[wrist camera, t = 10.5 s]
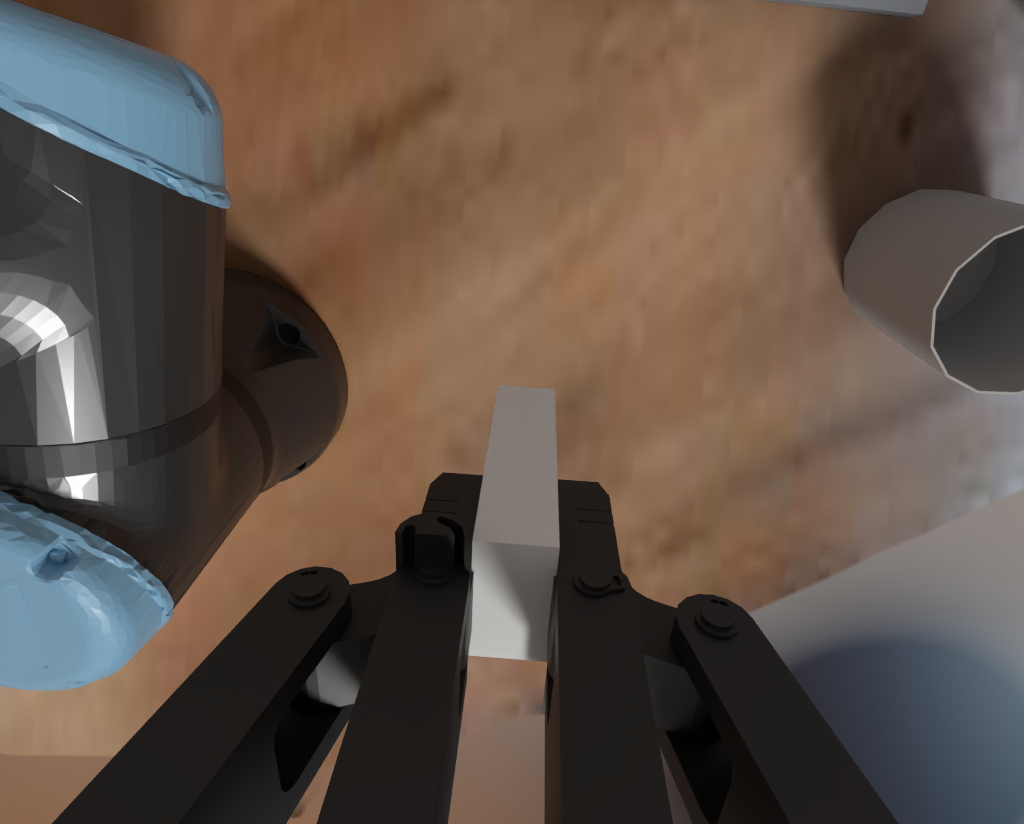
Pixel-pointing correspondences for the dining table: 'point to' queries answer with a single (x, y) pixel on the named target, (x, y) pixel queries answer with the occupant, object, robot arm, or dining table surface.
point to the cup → (946, 284)
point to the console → (868, 6)
